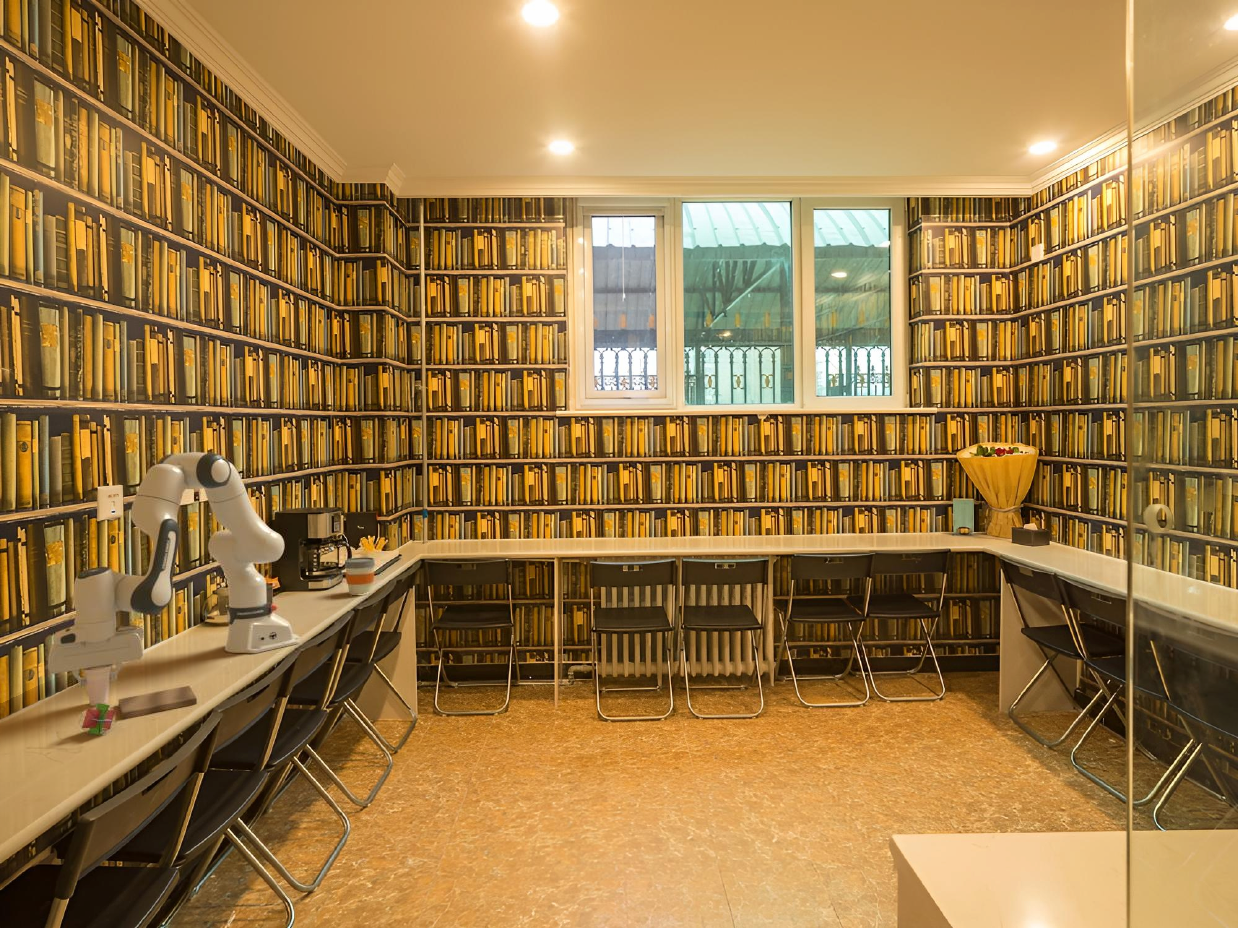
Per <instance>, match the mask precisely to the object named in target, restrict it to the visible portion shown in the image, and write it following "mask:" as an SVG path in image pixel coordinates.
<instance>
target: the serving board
mask: <svg viewBox="0 0 1238 928" xmlns="http://www.w3.org/2000/svg"><path fill="white" fill-rule="evenodd" d="M197 701H198V700H197V697H196V695H195V692H194V691H193V690H192V688H191V687H190V685H185V686H180V687H175V688H172V689H165V690H161V691H155V692H150V693H145V694H140V695H134V696H129V697H125V698H124V697H123V698H119V699H118V708H119V707H120V708H119V712H120V714H121V718H122V720H126V719H129V718H128V717H130V718H135V717H138V716H137V715H140V716H144V715H143V714H145V715H149V714H154V712H155V713H158V712H164V711H168V710H169V711H170V710H174V709H178V708H182V707H188V706H192V704H193V705H197ZM163 710H164V711H163ZM134 716H135V717H134Z"/></svg>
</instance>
